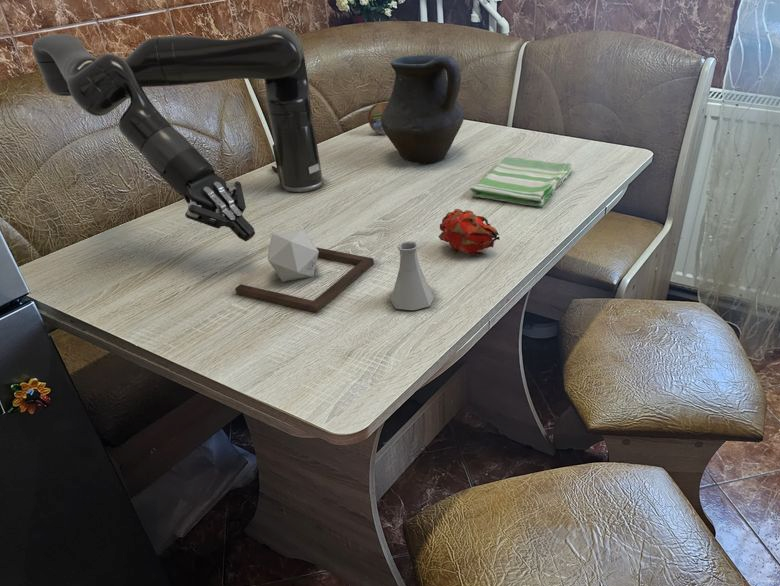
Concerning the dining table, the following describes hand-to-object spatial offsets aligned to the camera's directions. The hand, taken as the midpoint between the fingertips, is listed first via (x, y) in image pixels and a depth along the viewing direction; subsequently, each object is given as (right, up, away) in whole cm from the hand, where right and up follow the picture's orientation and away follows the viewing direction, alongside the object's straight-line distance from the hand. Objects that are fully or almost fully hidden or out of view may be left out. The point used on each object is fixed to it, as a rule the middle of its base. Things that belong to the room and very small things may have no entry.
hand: (250, 237), depth 111 cm
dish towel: (+51, +18, +34) cm, 64 cm away
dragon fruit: (+39, -1, +7) cm, 39 cm away
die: (+8, -7, +1) cm, 11 cm away
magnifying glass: (+18, +43, +70) cm, 84 cm away
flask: (+29, -12, -7) cm, 32 cm away
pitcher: (+28, +29, +50) cm, 65 cm away
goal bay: (+9, -7, 0) cm, 12 cm away
